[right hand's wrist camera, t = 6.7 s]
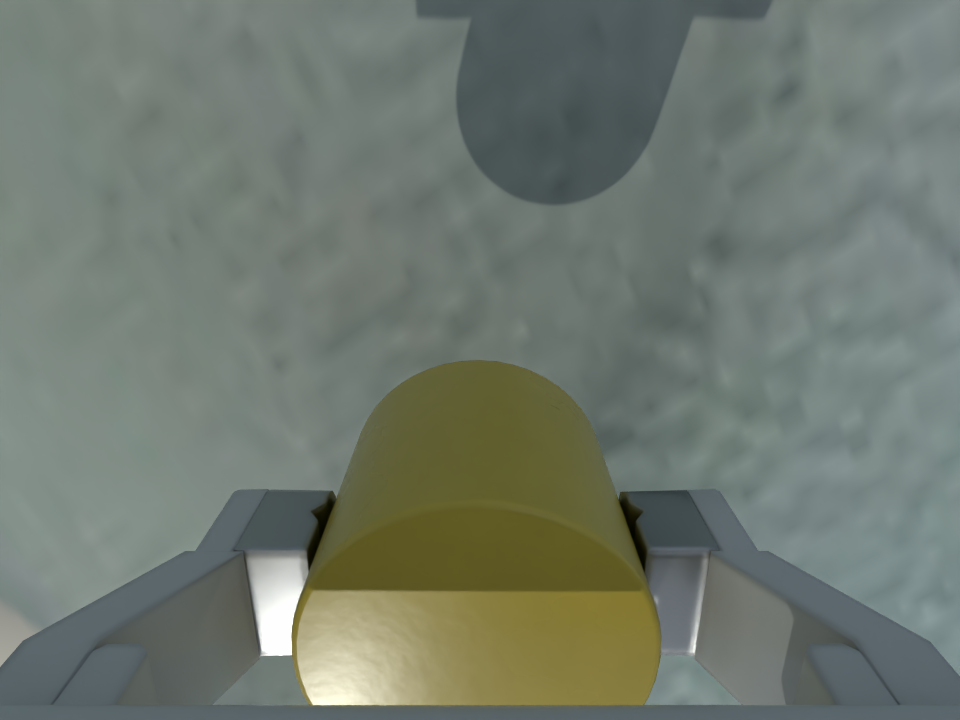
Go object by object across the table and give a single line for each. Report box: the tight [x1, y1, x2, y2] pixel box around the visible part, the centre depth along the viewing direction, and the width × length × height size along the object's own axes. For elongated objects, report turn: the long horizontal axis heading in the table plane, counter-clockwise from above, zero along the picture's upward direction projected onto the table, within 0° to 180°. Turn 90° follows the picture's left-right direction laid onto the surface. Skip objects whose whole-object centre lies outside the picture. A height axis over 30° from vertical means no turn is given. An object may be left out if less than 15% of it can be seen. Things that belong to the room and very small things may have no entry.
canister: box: [291, 360, 662, 705], centre depth 10 cm, size 4×4×4 cm
